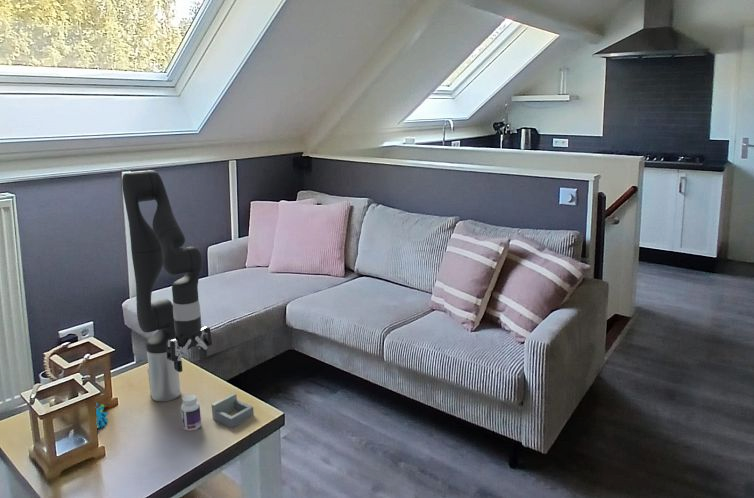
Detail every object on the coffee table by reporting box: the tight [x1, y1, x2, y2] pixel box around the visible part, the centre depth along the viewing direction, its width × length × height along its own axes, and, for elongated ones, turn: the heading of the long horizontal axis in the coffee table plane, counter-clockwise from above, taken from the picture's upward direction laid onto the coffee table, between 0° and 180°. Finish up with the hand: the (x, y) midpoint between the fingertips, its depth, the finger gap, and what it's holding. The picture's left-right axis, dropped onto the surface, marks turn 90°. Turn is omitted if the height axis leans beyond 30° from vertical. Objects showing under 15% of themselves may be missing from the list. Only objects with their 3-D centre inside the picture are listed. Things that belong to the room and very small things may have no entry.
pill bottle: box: [180, 394, 202, 432], centre depth 187 cm, size 5×5×10 cm
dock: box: [211, 392, 255, 428], centre depth 192 cm, size 9×9×5 cm
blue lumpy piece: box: [95, 402, 109, 429], centre depth 189 cm, size 11×6×10 cm
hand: (191, 365), depth 182 cm, fingers open, 8 cm apart
